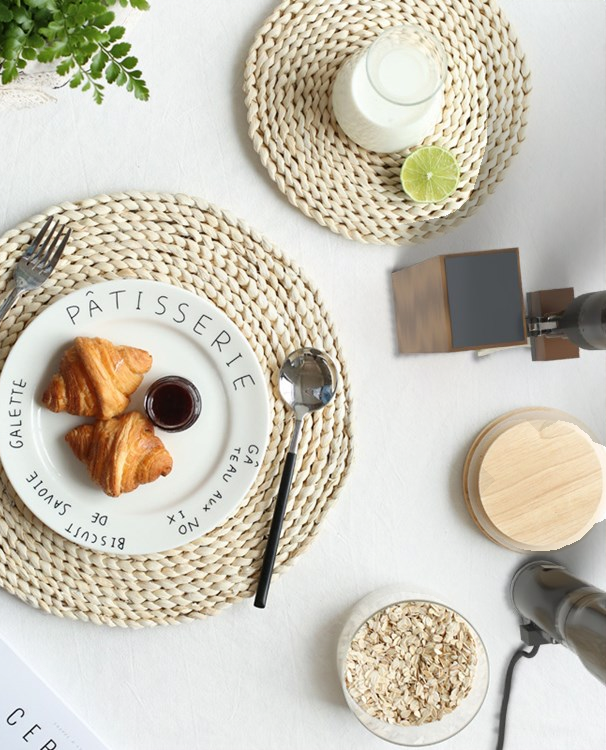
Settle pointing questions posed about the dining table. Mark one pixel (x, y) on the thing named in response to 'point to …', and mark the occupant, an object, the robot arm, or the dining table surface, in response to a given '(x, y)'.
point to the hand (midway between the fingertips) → (546, 325)
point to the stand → (433, 306)
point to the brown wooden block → (538, 307)
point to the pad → (484, 299)
